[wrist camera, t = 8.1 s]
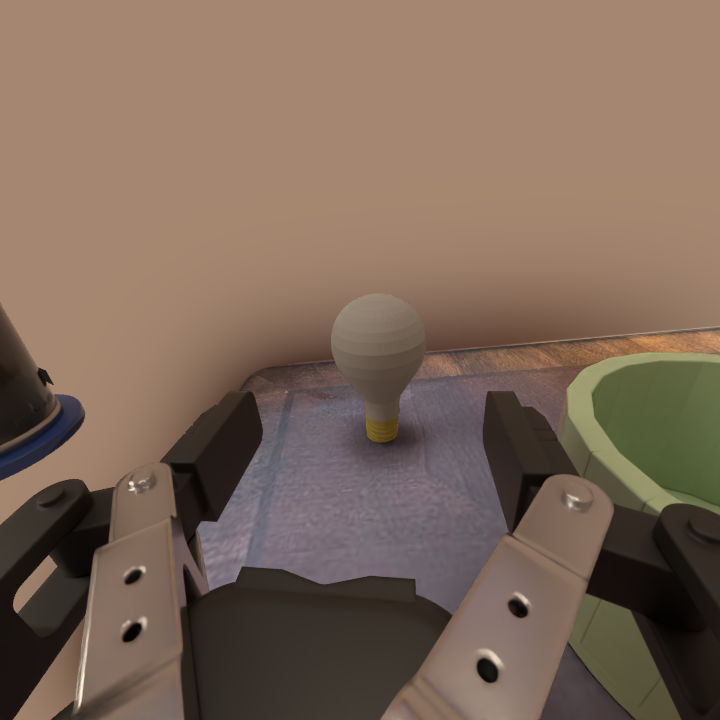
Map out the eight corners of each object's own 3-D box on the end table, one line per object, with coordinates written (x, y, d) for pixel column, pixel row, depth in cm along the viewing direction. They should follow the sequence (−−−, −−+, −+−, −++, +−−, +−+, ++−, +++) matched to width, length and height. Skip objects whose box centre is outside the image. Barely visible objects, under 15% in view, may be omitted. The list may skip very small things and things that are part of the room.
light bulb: (440, 449, 22) (448, 298, 17) (363, 481, 20) (349, 321, 15) (397, 406, 26) (394, 276, 22) (331, 428, 24) (312, 292, 20)
